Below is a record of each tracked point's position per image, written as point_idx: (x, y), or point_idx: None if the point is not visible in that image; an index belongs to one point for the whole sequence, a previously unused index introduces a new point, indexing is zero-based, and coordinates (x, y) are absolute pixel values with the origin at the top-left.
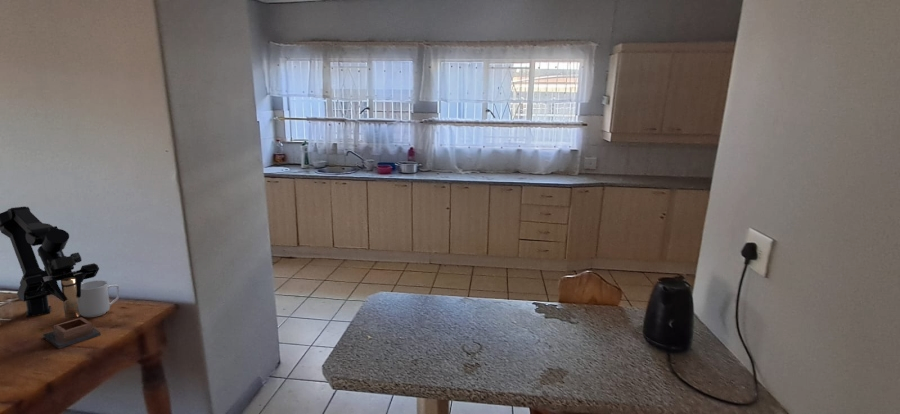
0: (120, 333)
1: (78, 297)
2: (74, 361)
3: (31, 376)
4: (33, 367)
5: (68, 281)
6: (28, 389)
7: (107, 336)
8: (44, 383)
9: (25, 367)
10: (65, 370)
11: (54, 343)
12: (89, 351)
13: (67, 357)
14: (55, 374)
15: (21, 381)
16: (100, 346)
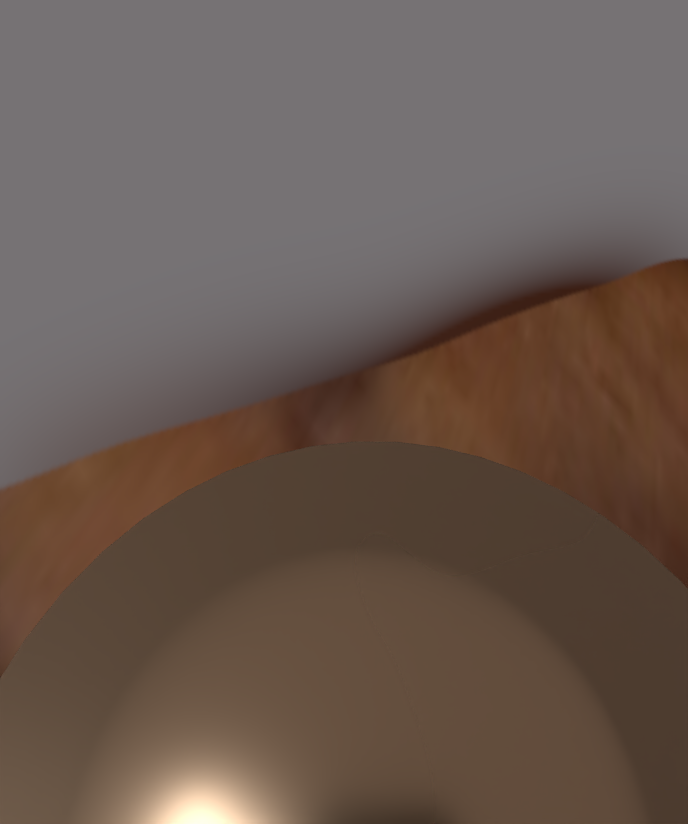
0: (63, 505)
1: None
2: (446, 368)
3: (642, 388)
4: (628, 478)
5: (493, 472)
6: (657, 292)
7: None
8: (599, 287)
9: (665, 516)
10: (505, 319)
11: None
12: (342, 413)
13: (458, 443)
14: (549, 320)
15: (683, 378)
16: (268, 423)
